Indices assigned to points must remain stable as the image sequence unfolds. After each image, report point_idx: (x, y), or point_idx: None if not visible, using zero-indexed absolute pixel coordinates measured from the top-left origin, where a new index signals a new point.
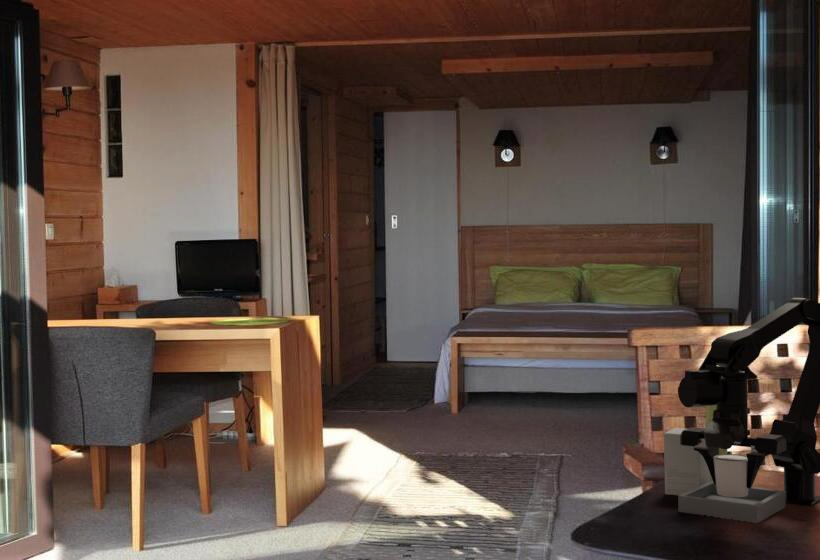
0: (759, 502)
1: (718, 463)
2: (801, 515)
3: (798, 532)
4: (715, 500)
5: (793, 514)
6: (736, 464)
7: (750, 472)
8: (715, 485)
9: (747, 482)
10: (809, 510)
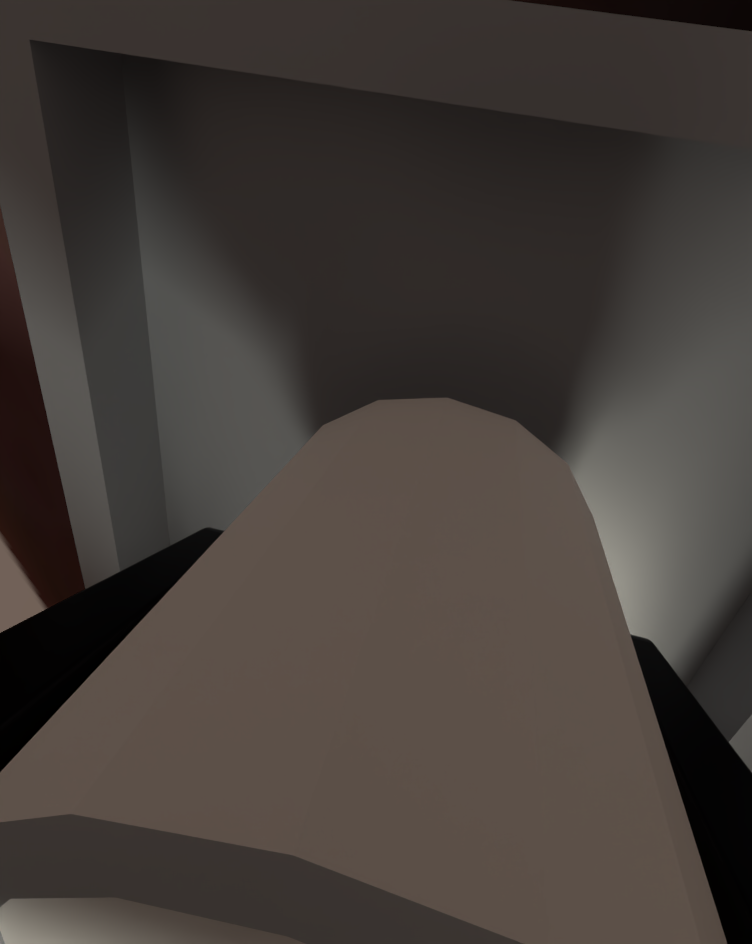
0: (50, 231)
1: (604, 849)
2: (2, 445)
3: None
4: (581, 52)
5: (48, 454)
6: (94, 733)
7: (38, 643)
8: None
9: (191, 564)
10: (37, 568)
